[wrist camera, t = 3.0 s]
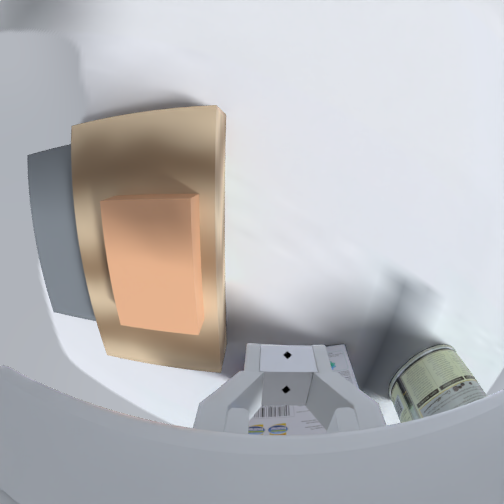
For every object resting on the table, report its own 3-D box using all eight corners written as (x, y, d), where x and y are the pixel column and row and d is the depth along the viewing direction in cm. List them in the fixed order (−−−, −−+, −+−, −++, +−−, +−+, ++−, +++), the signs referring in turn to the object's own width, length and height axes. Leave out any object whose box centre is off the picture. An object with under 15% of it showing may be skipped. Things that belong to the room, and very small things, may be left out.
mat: (29, 155, 19) (27, 155, 19) (99, 139, 19) (97, 139, 19) (55, 310, 25) (53, 311, 25) (121, 323, 25) (120, 325, 25)
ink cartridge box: (252, 389, 27) (242, 509, 14) (244, 353, 25) (228, 490, 12) (342, 379, 26) (369, 495, 13) (345, 341, 24) (386, 472, 11)
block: (115, 195, 17) (100, 201, 15) (199, 193, 16) (190, 198, 14) (131, 311, 20) (120, 325, 18) (204, 319, 19) (198, 335, 18)
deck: (99, 127, 19) (71, 126, 15) (226, 114, 18) (216, 105, 14) (123, 331, 25) (107, 354, 22) (226, 343, 25) (220, 372, 21)
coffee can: (462, 367, 26) (507, 438, 13) (403, 410, 29) (432, 489, 15) (446, 328, 24) (509, 415, 10) (374, 382, 26) (409, 484, 13)
